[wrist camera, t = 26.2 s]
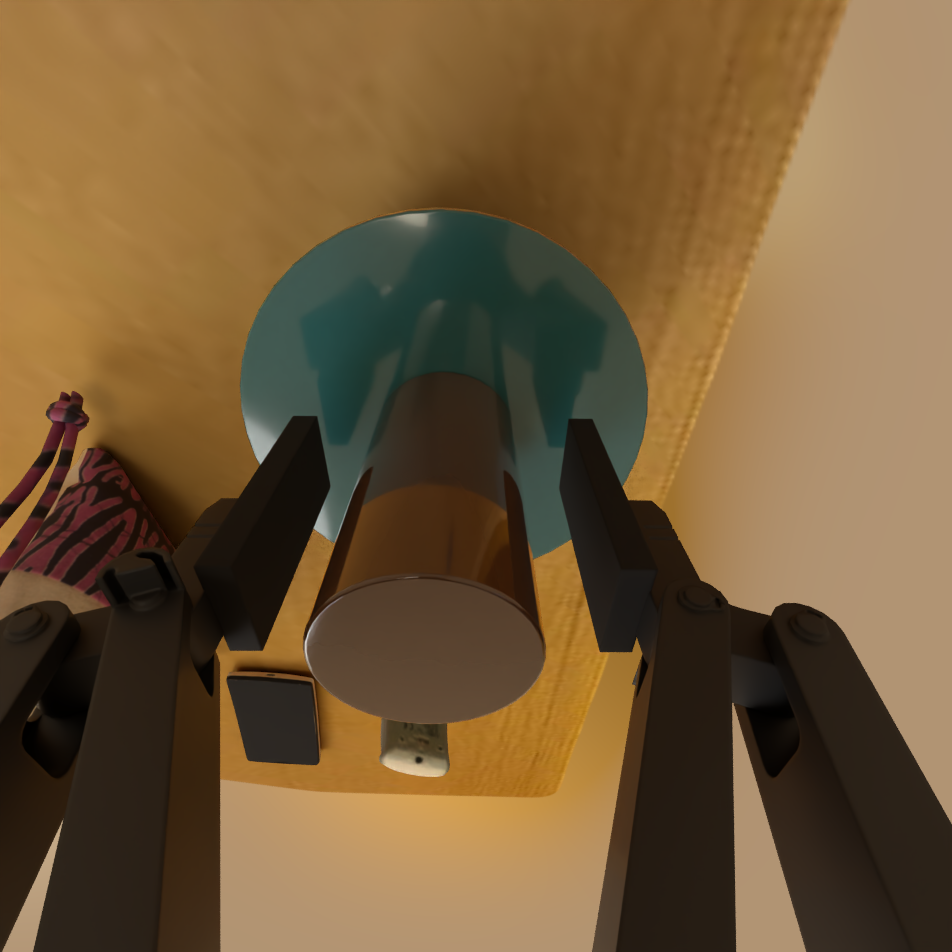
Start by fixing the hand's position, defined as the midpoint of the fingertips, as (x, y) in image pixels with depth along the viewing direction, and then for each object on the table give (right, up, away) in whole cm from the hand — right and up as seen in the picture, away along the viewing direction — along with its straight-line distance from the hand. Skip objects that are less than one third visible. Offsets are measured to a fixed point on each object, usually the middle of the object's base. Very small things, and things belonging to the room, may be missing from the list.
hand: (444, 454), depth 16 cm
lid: (0, +1, +2) cm, 2 cm away
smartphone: (-18, -24, +31) cm, 43 cm away
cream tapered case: (-4, -19, +29) cm, 35 cm away
